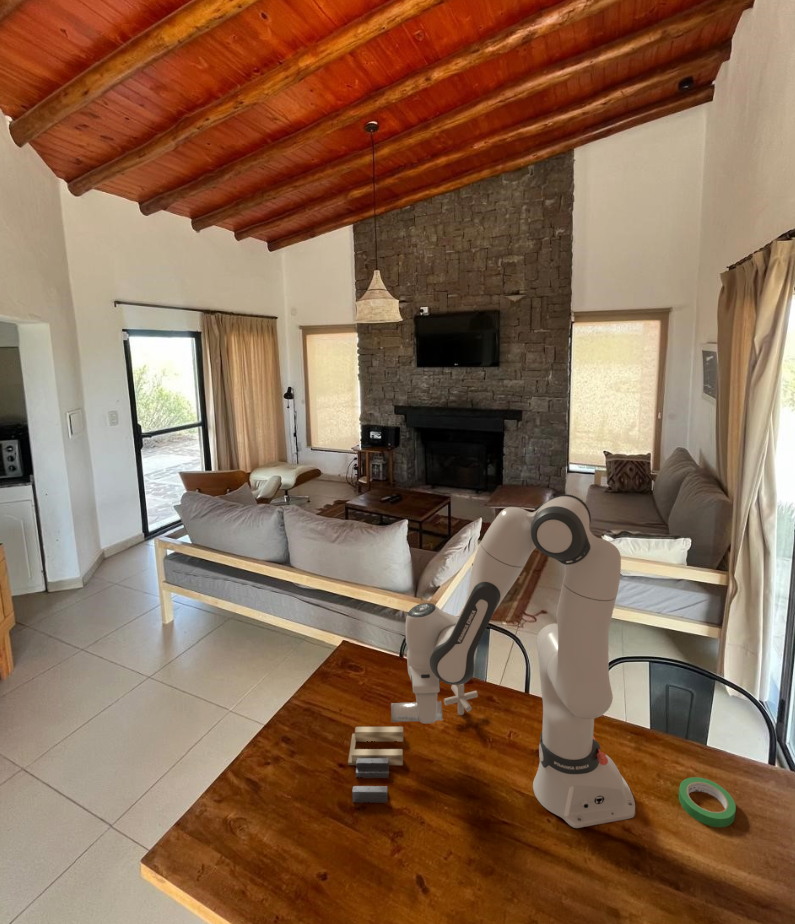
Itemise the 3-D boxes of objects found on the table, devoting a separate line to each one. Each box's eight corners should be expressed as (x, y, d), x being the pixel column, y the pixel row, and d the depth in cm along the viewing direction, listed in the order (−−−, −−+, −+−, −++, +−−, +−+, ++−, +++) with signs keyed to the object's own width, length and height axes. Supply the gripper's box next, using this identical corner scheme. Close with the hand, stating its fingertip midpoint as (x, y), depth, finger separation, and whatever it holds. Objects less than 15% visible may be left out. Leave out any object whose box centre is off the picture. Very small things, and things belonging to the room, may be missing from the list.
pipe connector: (468, 698, 156) (468, 668, 153) (484, 720, 146) (484, 689, 144) (438, 705, 153) (437, 676, 150) (452, 729, 143) (452, 697, 141)
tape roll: (701, 832, 112) (703, 822, 111) (667, 790, 123) (669, 780, 122) (746, 823, 114) (748, 814, 113) (709, 782, 124) (710, 773, 124)
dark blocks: (388, 768, 131) (388, 758, 130) (386, 802, 121) (386, 791, 120) (357, 768, 131) (356, 758, 130) (352, 802, 121) (352, 791, 120)
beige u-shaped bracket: (403, 736, 141) (403, 726, 141) (402, 765, 131) (402, 755, 131) (352, 736, 142) (352, 726, 141) (348, 765, 132) (347, 755, 131)
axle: (441, 711, 136) (440, 697, 135) (442, 724, 131) (442, 709, 130) (392, 713, 136) (391, 699, 135) (391, 726, 132) (390, 711, 131)
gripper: (412, 642, 140) (415, 687, 143) (412, 692, 120) (415, 742, 124) (435, 641, 140) (437, 686, 143) (439, 691, 120) (442, 741, 123)
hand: (427, 712), depth 133 cm, fingers closed on axle, 4 cm apart
